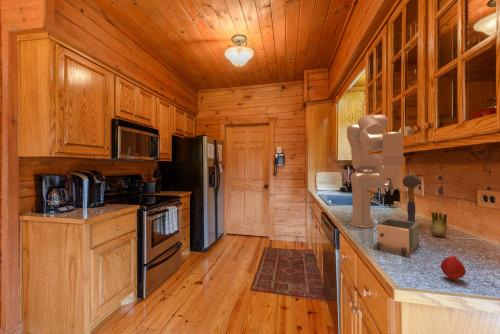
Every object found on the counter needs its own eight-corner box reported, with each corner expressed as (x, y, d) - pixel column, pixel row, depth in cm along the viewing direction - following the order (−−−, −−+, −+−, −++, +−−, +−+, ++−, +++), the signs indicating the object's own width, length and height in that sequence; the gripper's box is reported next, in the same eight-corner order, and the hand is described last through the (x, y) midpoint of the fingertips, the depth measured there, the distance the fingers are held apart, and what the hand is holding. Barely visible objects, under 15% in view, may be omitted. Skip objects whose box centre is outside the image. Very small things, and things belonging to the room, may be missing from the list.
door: (379, 246, 102) (379, 224, 102) (409, 253, 94) (409, 229, 94) (376, 249, 99) (376, 226, 99) (406, 256, 92) (406, 231, 91)
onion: (438, 279, 74) (438, 254, 74) (443, 273, 77) (443, 249, 77) (463, 286, 69) (463, 260, 69) (467, 280, 73) (467, 255, 72)
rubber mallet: (418, 231, 124) (418, 175, 123) (401, 228, 129) (401, 174, 128) (420, 226, 133) (420, 174, 133) (405, 224, 138) (405, 173, 137)
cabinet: (386, 238, 112) (386, 218, 112) (418, 245, 103) (418, 223, 103) (373, 249, 100) (373, 225, 99) (409, 257, 90) (409, 232, 90)
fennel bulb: (448, 238, 112) (448, 213, 112) (440, 239, 111) (440, 214, 111) (436, 234, 118) (436, 211, 118) (428, 235, 117) (428, 211, 117)
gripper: (388, 161, 105) (388, 199, 106) (375, 162, 93) (375, 204, 94) (407, 161, 100) (407, 201, 100) (397, 162, 88) (397, 207, 88)
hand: (392, 202), depth 97 cm, fingers open, 9 cm apart
